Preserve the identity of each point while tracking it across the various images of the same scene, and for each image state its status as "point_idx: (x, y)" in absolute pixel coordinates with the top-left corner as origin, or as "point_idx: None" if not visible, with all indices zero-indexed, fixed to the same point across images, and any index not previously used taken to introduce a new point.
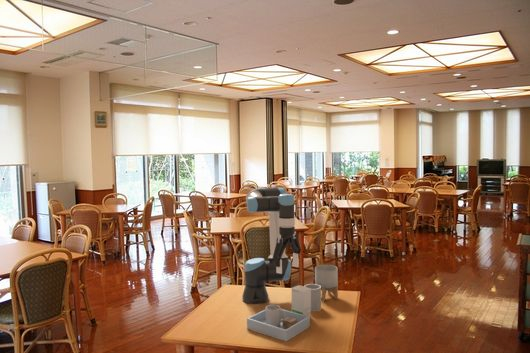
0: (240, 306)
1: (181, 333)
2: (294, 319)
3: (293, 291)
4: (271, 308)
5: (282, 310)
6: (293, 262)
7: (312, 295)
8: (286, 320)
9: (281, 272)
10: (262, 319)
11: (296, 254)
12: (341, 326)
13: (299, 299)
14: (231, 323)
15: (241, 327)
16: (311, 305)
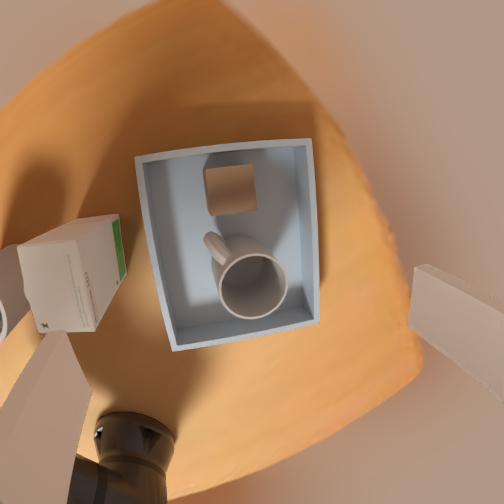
0: (201, 430)
1: (402, 371)
2: (218, 173)
3: (97, 310)
4: (233, 306)
5: (224, 249)
6: (78, 421)
7: (6, 276)
8: (250, 191)
9: (430, 270)
10: (233, 320)
11: (8, 495)
12: (66, 83)
13: (98, 256)
14: (306, 361)
15: None
16: None
